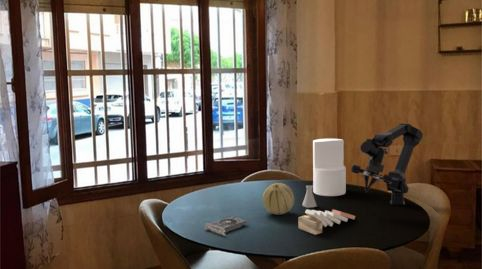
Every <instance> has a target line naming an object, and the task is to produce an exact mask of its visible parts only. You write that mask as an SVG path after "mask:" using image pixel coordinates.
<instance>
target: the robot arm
mask: <svg viewBox="0 0 482 269" xmlns="http://www.w3.org/2000/svg"><path fill="white" fill-rule="evenodd" d="M401 136H402V141H403V146H402V149H401V151H400V155H399V157H398V160H397V161H396V166H395V168H394V170H393V171H388V173H387V174H385V173H384V174H383V175H382V174H379V173H383V171H384V168H385V165H383V161H384V158H385V155H388V154H389V153H388V151H387V148H389V147H391V145H392V144H393V142H394V141H395V140H396V139H397V138H400V137H401ZM422 138H423V132H422V130H421V129H419V128H417V127H414V126H413V125H412V124H410V123H408V122H407V123H406V122H400V123H399V124H398V125H396V126H395V127H393V128H391V129H389V130H388V131H385V132H380V133H376V134H375V135H374V137H373V138H366V140H365V141H363V142H362V144H360V151H361V153H363V154H365V155H366V156H369V160H368V164H367V166H366V168H365V169H363V168H362V166H360V165H356V164H352V165H351V168H350V172H352V173H354V174H357V175H358V174H362V178H364V191H365V192H364V193H368V191H369V190H370V189H371V187H372V186H373V185H374V184H375V183H378V182H379V180H382V181H383V183H385V185H386V188H387V191H390V192H391V200H389V201H390V202H389V203H390V205H391V206H392V205H393V206H406V203H405V200H404V198H405V196H404V194H407V193H409V190H410V187H409V186H408V184H406V182H407V179H406V178H407V177H406V175H405V174H406V171H407V169H408V166H409V163H410V160H411V157H412V155H413V152H414V149H415V148H416V147H417V146H418V145H419V144H420V143H421V140H422ZM370 177H371V180H370V182H369V179H370Z"/></svg>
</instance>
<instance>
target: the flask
mask: <svg viewBox="0 0 482 269" xmlns="http://www.w3.org/2000/svg"><path fill="white" fill-rule="evenodd" d="M305 188H306V191H305V192H306V193H305V196H304V199H303V201H302V204H301V206H302V207H304V208H307V209H309V208H311V209H312V208H315V207H316V208H317V207H318V205H317V203H316V200H315V196H314V194H313V193H314V192H313V185H306V186H305Z"/></svg>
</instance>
